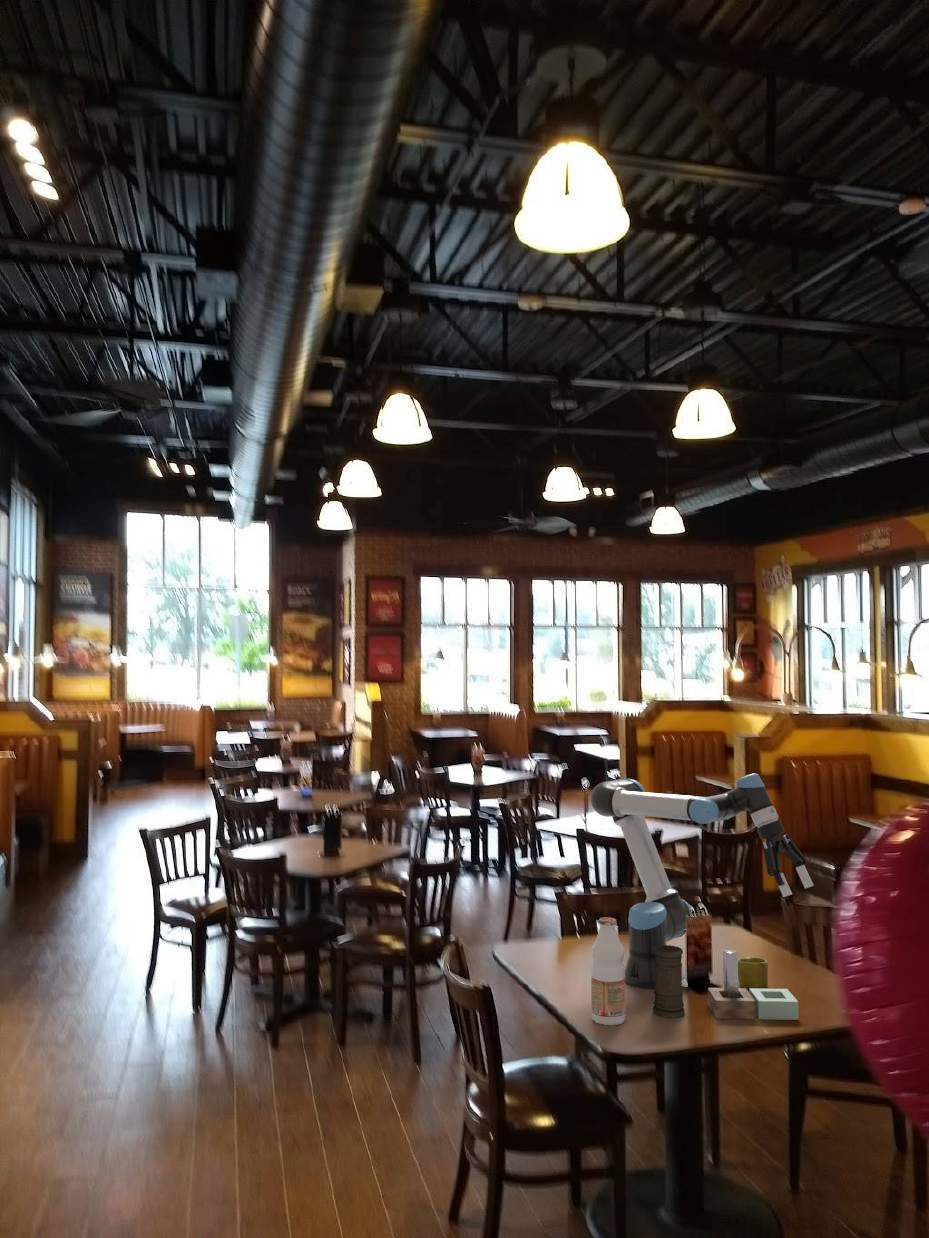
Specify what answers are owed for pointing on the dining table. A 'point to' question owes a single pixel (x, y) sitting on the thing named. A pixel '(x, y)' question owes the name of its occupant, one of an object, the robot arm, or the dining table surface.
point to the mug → (753, 972)
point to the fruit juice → (608, 975)
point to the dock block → (775, 1004)
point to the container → (668, 981)
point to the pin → (730, 973)
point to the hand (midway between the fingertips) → (798, 891)
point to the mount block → (731, 1004)
